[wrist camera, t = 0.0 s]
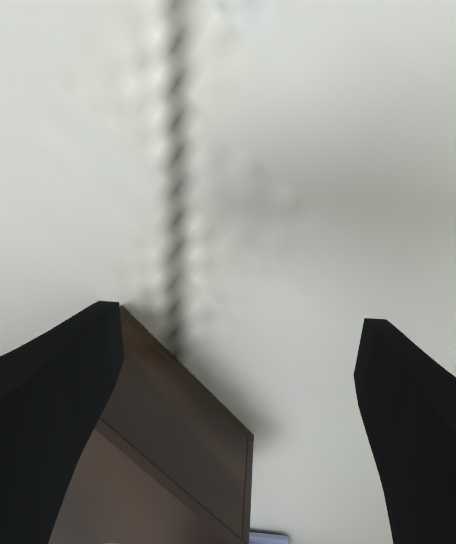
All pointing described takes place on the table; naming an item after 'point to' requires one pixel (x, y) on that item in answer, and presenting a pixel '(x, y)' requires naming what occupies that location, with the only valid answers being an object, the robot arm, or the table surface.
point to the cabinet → (159, 460)
